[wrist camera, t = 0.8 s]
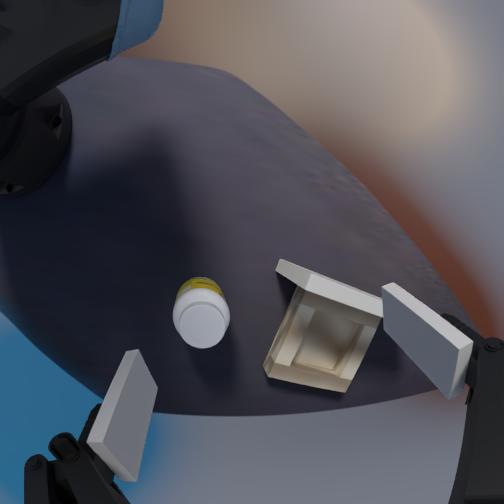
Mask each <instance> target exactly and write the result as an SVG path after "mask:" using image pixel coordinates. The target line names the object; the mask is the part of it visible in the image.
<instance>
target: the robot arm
mask: <svg viewBox="0 0 504 504" xmlns="http://www.w3.org/2000/svg"><path fill="white" fill-rule="evenodd" d="M163 1H164V0H0V195H6V196H21V195H25V194H28V193H30V192H32V191H34V190H35V189H37V188H38V187H40V186H41V185H42V184H43V183H44V182H45V181H46V180H47V179H48V178H49V177H50V176H51V175H52V173H53V172H54V171H55V169H56V168H57V166H58V165H59V163H60V161H61V159H62V157H63V155H64V153H65V151H66V148H67V145H68V142H69V138H70V133H71V124H72V119H71V110H70V106H69V103H68V101H67V99H66V97H65V96H64V94H63V93H62V92H61V91H60V90H59V89H58V88H57V87H56V86H58V85H60V84H61V83H63V82H65V81H66V80H68V79H70V78H72V77H74V76H76V75H77V74H79V73H81V72H83V71H85V70H87V69H89V68H91V67H93V66H95V65H97V64H99V63H101V62H103V61H105V60H106V61H110V60H112V59H113V58H114V57H115V56H116V55H117V54H119V53H121V52H123V51H125V50H127V49H129V48H131V47H134V46H135V45H138V44H140V43H142V42H144V41H146V40H148V39H149V38H150V37H152V36H153V35H154V33H155V32H156V30H157V29H158V26H159V24H160V21H161V18H162V12H163V3H164V2H163ZM381 287H382V303H383V325H384V331H385V332H386V333H387V334H388V335H389V336H390V337H391V338H392V339H393V340H394V341H395V342H396V343H397V344H398V345H399V346H400V347H401V348H402V350H403V351H404V352H405V353H406V354H407V355H408V356H409V357H410V358H411V359H412V360H413V361H414V362H415V363H416V365H417V366H418V367H419V368H420V369H421V370H422V371H423V372H424V373H425V374H426V375H427V376H428V378H429V379H430V380H431V381H432V382H433V383H434V384H435V385H436V386H437V387H438V389H439V390H440V391H441V392H442V393H443V394H444V395H445V396H446V398H447V399H448V400H450V399H452V398H454V397H455V396H457V395H459V394H461V393H462V392H463V388H464V384H465V383H466V384H468V386H469V387H470V388H469V392H468V396H467V399H466V403H465V404H466V405H467V413H466V421H465V429H464V436H463V442H462V448H461V453H460V458H459V463H458V468H457V473H456V477H455V481H454V485H453V489H452V492H451V496H450V500H449V503H448V504H504V342H503V340H501V339H499V338H493V337H492V338H486V339H484V338H483V337H482V336H480V335H479V334H478V333H476V332H475V331H474V330H472V329H471V328H470V327H468V326H466V325H465V324H464V323H463V322H461V321H460V320H459V319H457V318H456V317H454V316H452V315H449V314H445V313H444V314H442V315H440V316H439V315H438V314H437V313H435V312H434V311H433V310H431V309H430V308H429V307H427V306H426V305H424V304H423V303H422V302H420V301H419V300H418V299H416V298H415V297H413V296H412V295H411V294H409V293H408V292H406V291H405V290H404V289H402V288H401V287H399V286H398V285H397V284H395V283H394V282H393V283H390V284H387V285H384V286H381ZM157 390H158V387H157V385H156V383H155V381H154V380H153V378H152V376H151V374H150V372H149V370H148V368H147V366H146V364H145V362H144V359H143V357H142V355H141V353H140V351H139V349H136V350H131V351H126V353H125V355H124V357H123V359H122V361H121V363H120V365H119V368H118V370H117V372H116V374H115V376H114V379H113V381H112V383H111V385H110V387H109V390H108V392H107V394H106V396H105V399H104V401H103V403H102V404H97V405H96V406H95V407H94V408H93V410H91V412H90V414H89V417H88V420H87V421H86V423H85V426H84V428H83V431H82V433H81V435H80V437H79V440H78V442H77V441H76V439H75V438H74V437H73V435H72V434H70V433H67V432H65V433H60V434H58V435H56V436H55V437H54V438H52V440H51V441H50V443H49V447H48V448H49V451H50V452H51V453H52V454H53V455H54V457H55V458H56V459H57V460H53V461H48V460H47V459H46V458H45V457H44V456H43V455H40V454H37V455H34V456H32V457H30V458H29V459H28V460H27V462H26V463H25V467H24V504H130V503H129V501H128V500H127V499H126V497H125V496H124V495H123V493H122V492H121V490H120V489H119V487H118V486H117V484H115V482H114V481H113V479H114V475H116V476H117V477H118V478H119V479H120V480H121V481H122V482H123V481H124V482H137V480H138V474H139V470H140V464H141V459H142V455H143V450H144V446H145V441H146V437H147V432H148V428H149V423H150V419H151V415H152V411H153V406H154V402H155V398H156V394H157Z"/></svg>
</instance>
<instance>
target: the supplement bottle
mask: <svg viewBox="0 0 504 504" xmlns="http://www.w3.org/2000/svg"><path fill="white" fill-rule="evenodd" d="M229 321H230V312H229V308H228V305H227V303H226V300H225V297H224V295H223V292H222V290H221V288H220V287H219V286H218V284H217V283H215V282H214V281H213V280H211V279H209V278H205V277H195V278H191V279H189V280H188V281H186V282H185V283H184V284H183V285H182V286H181V287H180V289H179V291H178V293H177V297H176V301H175V305H174V309H173V322H174V325H175V328H176V330H177V331H178V333H179V334H180V335H181V336H182V338H183V339H184V341H185V342H186V343H188V344H189V345H191V346H193V347H196V348H209V347H212V346H214V345H216V344H217V343H218V342H219V341H220V340H221V339H222V338H223V336H224V333H225V331H226V329H227V328H228V325H229Z"/></svg>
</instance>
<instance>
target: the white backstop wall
mask: <svg viewBox="0 0 504 504" xmlns="http://www.w3.org/2000/svg"><path fill="white" fill-rule="evenodd" d="M275 271H277V272H278V273H280V274H281V275H283V276H285V277H286V278H288V279H289V280H291V281H292V282H294V283H295V284H297V285H298V286H300V287H302V288H303V289H305V290H307V291H310V292H313V293H316V294H318V295H321V296H324V297H327V298H329V299H332V300H335V301H338V302H341V303H343V304H346V305H349V306H352V307H355V308H357V309H360V310H363V311H366V312H369V313H371V314H374V315H377V316H380V317H383V303H382V298H379V297H377V296H374V295H372V294H369V293H367V292H364V291H362V290H359V289H356V288H354V287H351V286H349V285H346V284H344V283H341V282H339V281H336V280H334V279H331V278H329V277H326V276H323V275H321V274H318V273H316V272H313V271H311V270H308V269H306V268H303V267H301V266H298V265H295V264H293V263H290V262H288V261H285V260H283V259H280V260H279V262H278V265H277V268H276V270H275Z"/></svg>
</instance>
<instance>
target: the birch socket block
mask: <svg viewBox="0 0 504 504" xmlns="http://www.w3.org/2000/svg"><path fill="white" fill-rule="evenodd" d="M381 318H382V317H380V316H377V315H374V314H371V313H369V312H366V311H363V310H360V309H357V308H355V307H352V306H349V305H346V304H343V303H341V302H338V301H335V300H332V299H329V298H327V297H324V296H321V295H318V294H316V293H313V292H310V291H307V290H305V289H303V288H302V287H300V286H298V285H297V287H296V290H295V292H294V294H293V297H292V299H291V302H290V304H289V306H288V309H287V311H286V313H285V316H284V318H283V321H282V323H281V325H280V327H279V330H278V332H277V334H276V337H275V339H274V341H273V343H272V346H271V348H270V350H269V352H268V355H267V357H266V359H265V361H264V364H263V367H264V369H265V371H266V374H267V376H268V377H272V378H276V379H280V380H284V381H289V382H293V383H298V384H303V385H308V386H312V387H318V388H323V389H328V390H334V391H339V392H346V390H347V388H348V386H349V385H350V383H351V381H352V379H353V377H354V375H355V373H356V371H357V369H358V367H359V365H360V363H361V361H362V359H363V357H364V355H365V353H366V351H367V349H368V347H369V345H370V342H371V340H372V338H373V336H374V334H375V332H376V329H377V327H378V325H379V322H380V320H381Z"/></svg>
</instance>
